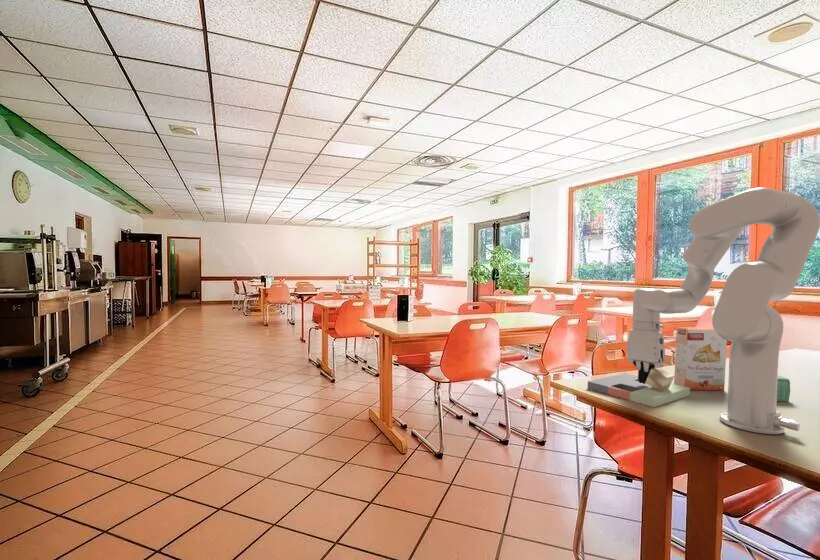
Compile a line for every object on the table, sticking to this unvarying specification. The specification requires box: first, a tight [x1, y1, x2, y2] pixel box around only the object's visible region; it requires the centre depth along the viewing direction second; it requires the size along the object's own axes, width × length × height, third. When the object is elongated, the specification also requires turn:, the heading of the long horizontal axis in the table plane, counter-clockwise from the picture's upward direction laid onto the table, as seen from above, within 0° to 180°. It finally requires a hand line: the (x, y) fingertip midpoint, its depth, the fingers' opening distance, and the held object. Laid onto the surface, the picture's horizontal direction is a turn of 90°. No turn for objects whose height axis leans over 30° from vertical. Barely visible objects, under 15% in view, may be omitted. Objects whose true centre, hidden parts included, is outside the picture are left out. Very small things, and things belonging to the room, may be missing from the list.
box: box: [777, 375, 791, 403], centre depth 127 cm, size 7×14×8 cm, turn 83°
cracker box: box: [673, 326, 728, 391], centre depth 135 cm, size 14×6×21 cm, turn 92°
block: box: [645, 367, 675, 392], centre depth 124 cm, size 5×5×5 cm
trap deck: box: [587, 372, 691, 408], centre depth 130 cm, size 21×23×2 cm
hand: (643, 382), depth 128 cm, fingers closed
